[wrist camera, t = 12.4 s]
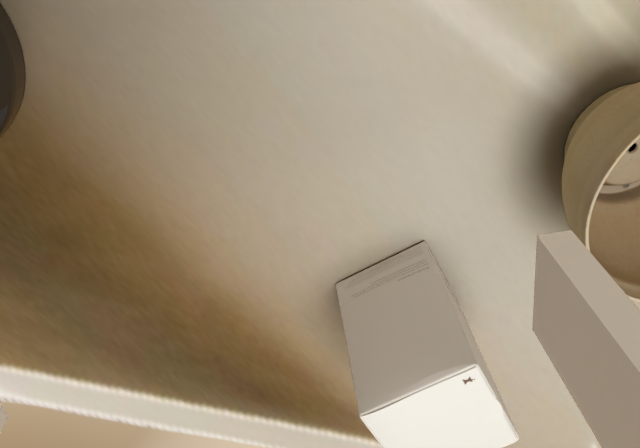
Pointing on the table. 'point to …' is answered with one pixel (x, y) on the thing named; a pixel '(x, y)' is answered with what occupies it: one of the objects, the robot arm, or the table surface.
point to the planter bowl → (607, 184)
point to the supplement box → (418, 359)
